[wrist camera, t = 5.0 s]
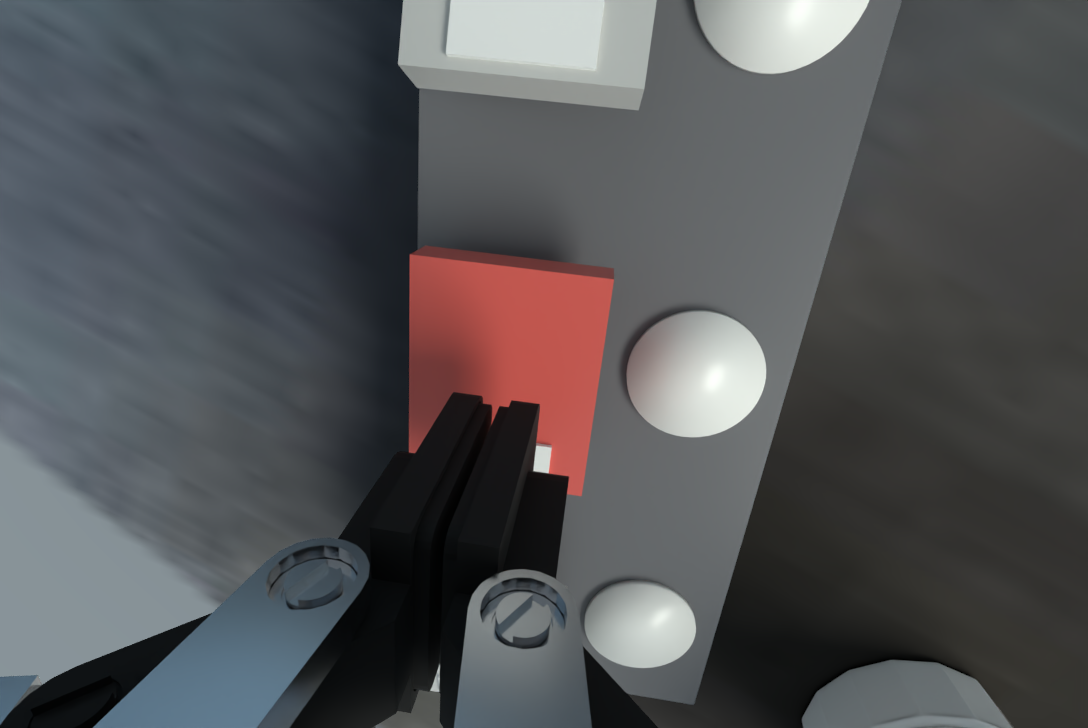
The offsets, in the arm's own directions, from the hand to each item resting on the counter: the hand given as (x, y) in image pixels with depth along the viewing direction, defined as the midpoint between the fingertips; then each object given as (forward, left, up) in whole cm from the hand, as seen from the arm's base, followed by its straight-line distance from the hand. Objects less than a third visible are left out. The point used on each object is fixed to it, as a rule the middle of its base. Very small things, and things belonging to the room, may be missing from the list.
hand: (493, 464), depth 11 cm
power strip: (-3, +2, -6) cm, 7 cm away
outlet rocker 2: (-1, 0, -2) cm, 2 cm away
